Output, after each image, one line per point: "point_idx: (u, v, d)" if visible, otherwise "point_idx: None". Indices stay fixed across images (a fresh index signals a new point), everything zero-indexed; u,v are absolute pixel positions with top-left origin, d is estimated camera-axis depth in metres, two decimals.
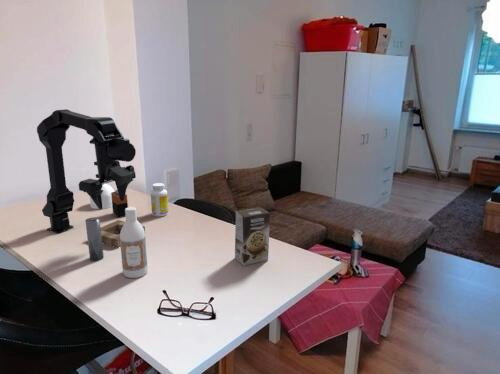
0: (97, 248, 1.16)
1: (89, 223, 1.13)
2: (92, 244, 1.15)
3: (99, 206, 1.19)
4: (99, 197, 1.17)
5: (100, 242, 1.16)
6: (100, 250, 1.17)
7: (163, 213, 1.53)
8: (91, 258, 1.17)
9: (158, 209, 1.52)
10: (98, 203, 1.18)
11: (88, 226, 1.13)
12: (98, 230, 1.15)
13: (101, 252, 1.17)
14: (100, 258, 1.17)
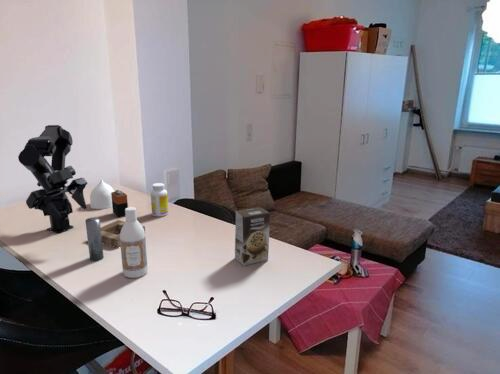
0: (97, 248, 1.16)
1: (89, 223, 1.13)
2: (92, 244, 1.15)
3: (57, 215, 1.14)
4: (51, 205, 1.13)
5: (100, 242, 1.16)
6: (100, 250, 1.17)
7: (163, 213, 1.53)
8: (91, 258, 1.17)
9: (158, 209, 1.52)
10: (54, 212, 1.14)
11: (88, 226, 1.13)
12: (98, 230, 1.15)
13: (101, 252, 1.17)
14: (100, 258, 1.17)
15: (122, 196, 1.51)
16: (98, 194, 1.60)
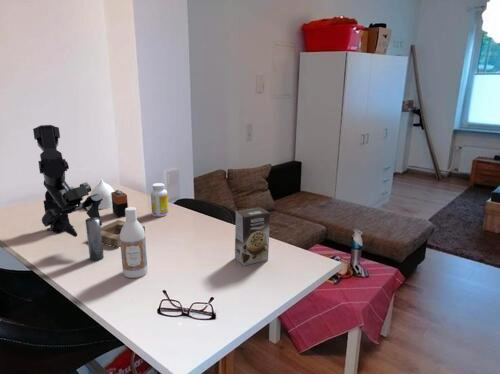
0: (97, 248, 1.16)
1: (89, 223, 1.13)
2: (92, 244, 1.15)
3: (73, 233, 1.12)
4: (66, 222, 1.12)
5: (100, 242, 1.16)
6: (100, 250, 1.17)
7: (163, 213, 1.53)
8: (91, 258, 1.17)
9: (158, 209, 1.52)
10: (70, 230, 1.12)
11: (88, 226, 1.13)
12: (98, 230, 1.15)
13: (101, 252, 1.17)
14: (100, 258, 1.17)
15: (122, 196, 1.51)
16: None
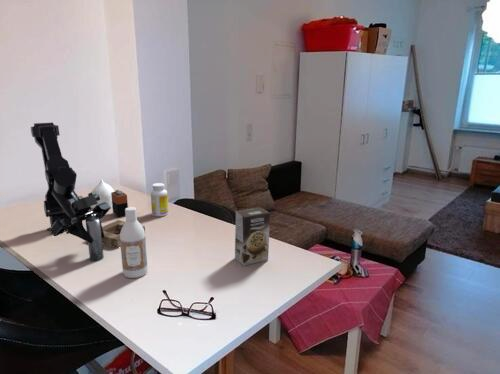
0: (97, 248, 1.16)
1: (89, 223, 1.13)
2: (92, 244, 1.15)
3: (89, 239, 1.14)
4: (82, 229, 1.13)
5: (100, 242, 1.16)
6: (100, 250, 1.17)
7: (163, 213, 1.53)
8: (91, 258, 1.17)
9: (158, 209, 1.52)
10: (86, 236, 1.13)
11: (88, 226, 1.13)
12: (98, 230, 1.15)
13: (101, 252, 1.17)
14: (100, 258, 1.17)
15: (122, 196, 1.50)
16: (98, 194, 1.60)
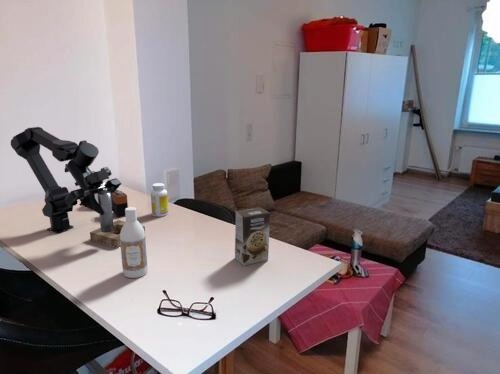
0: (107, 220, 1.23)
1: (101, 196, 1.20)
2: (103, 216, 1.22)
3: (100, 211, 1.21)
4: (95, 202, 1.20)
5: (111, 215, 1.24)
6: (110, 222, 1.24)
7: (163, 213, 1.53)
8: (102, 229, 1.24)
9: (158, 209, 1.52)
10: (97, 208, 1.21)
11: (100, 199, 1.21)
12: (109, 203, 1.22)
13: (111, 224, 1.25)
14: (110, 230, 1.25)
15: (122, 196, 1.50)
16: None
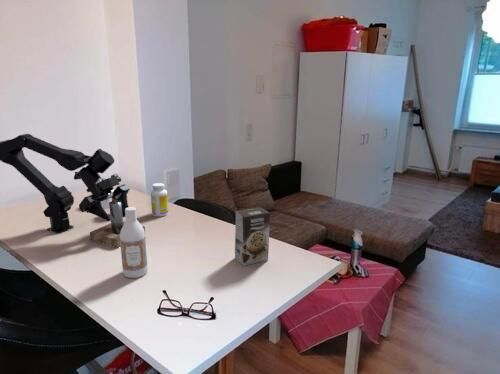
0: (119, 228, 1.31)
1: (112, 205, 1.28)
2: (115, 223, 1.30)
3: (106, 218, 1.27)
4: (101, 209, 1.26)
5: (121, 222, 1.32)
6: None
7: (163, 213, 1.53)
8: None
9: (158, 209, 1.52)
10: (104, 215, 1.26)
11: (111, 208, 1.29)
12: (120, 211, 1.30)
13: None
14: None
15: None
16: None
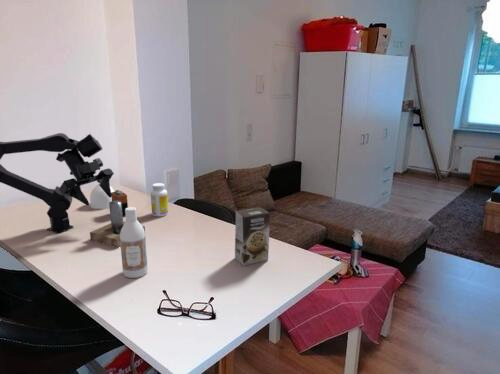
0: (119, 228, 1.31)
1: (112, 205, 1.28)
2: (115, 224, 1.30)
3: (85, 202, 1.28)
4: (80, 193, 1.28)
5: (121, 222, 1.32)
6: None
7: (163, 213, 1.53)
8: None
9: (158, 209, 1.52)
10: (83, 199, 1.28)
11: (111, 208, 1.29)
12: (120, 212, 1.30)
13: None
14: None
15: (122, 196, 1.50)
16: (98, 194, 1.60)
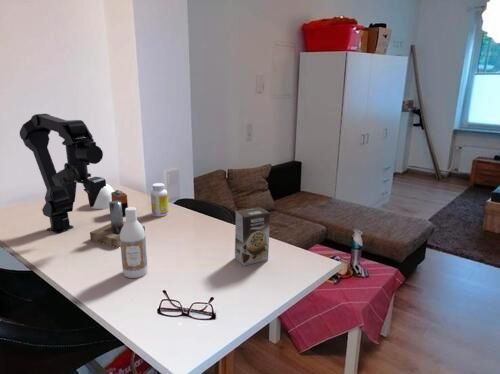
0: (119, 228, 1.31)
1: (112, 205, 1.28)
2: (115, 224, 1.30)
3: None
4: (65, 190, 1.28)
5: (121, 222, 1.32)
6: None
7: (163, 213, 1.53)
8: None
9: (158, 209, 1.52)
10: None
11: (111, 208, 1.29)
12: (120, 212, 1.30)
13: None
14: None
15: (122, 196, 1.50)
16: (98, 194, 1.60)
